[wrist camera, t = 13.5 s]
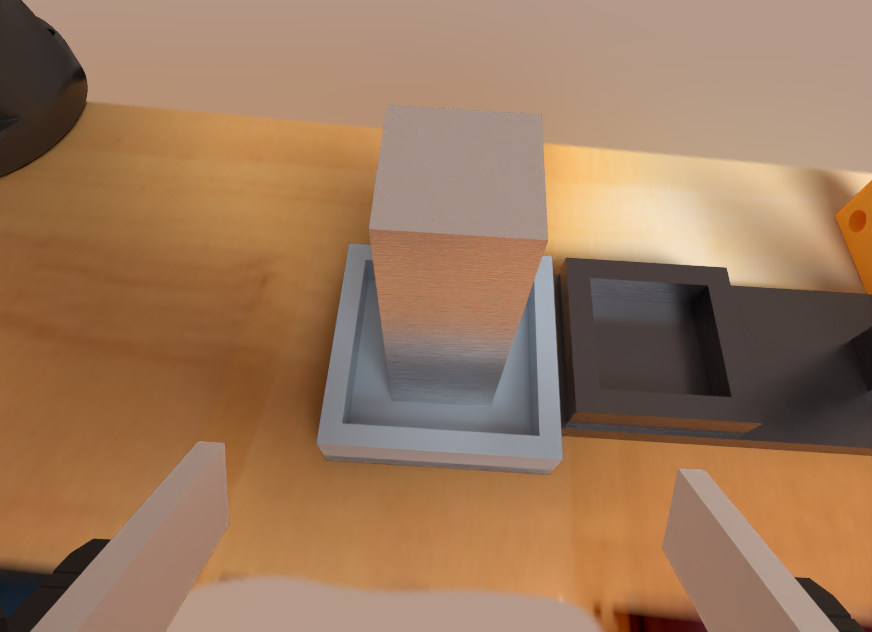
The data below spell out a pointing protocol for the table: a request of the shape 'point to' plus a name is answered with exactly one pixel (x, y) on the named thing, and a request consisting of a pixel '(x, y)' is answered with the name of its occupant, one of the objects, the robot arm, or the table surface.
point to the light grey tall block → (455, 246)
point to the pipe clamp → (859, 232)
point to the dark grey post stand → (710, 359)
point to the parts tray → (440, 423)
